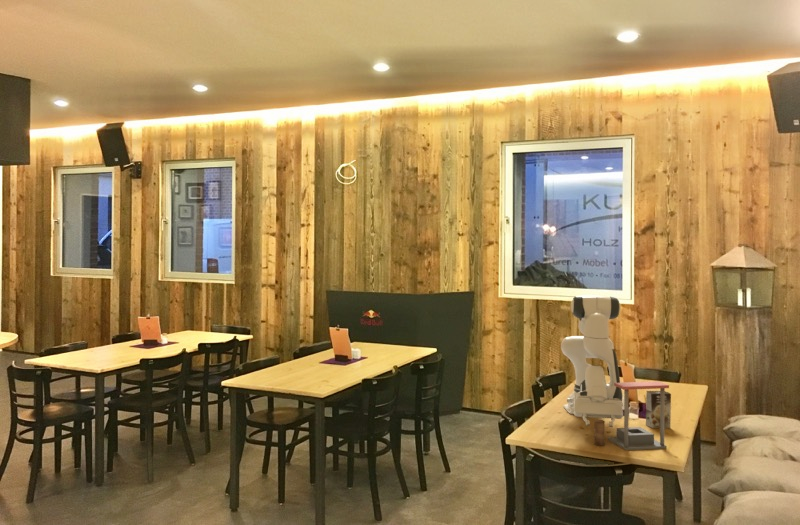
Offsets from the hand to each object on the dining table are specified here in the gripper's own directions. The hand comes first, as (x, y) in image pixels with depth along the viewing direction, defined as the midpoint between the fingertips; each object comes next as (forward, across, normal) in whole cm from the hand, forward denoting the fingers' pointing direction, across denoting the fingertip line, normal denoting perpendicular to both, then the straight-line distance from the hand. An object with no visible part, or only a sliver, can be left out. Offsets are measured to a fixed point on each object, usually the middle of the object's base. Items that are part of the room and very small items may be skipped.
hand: (599, 425), depth 259 cm
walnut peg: (+6, 0, -5) cm, 8 cm away
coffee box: (-19, -30, -30) cm, 46 cm away
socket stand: (+3, -16, -8) cm, 18 cm away
